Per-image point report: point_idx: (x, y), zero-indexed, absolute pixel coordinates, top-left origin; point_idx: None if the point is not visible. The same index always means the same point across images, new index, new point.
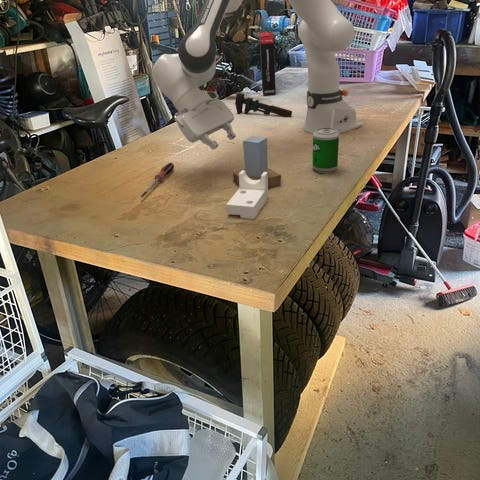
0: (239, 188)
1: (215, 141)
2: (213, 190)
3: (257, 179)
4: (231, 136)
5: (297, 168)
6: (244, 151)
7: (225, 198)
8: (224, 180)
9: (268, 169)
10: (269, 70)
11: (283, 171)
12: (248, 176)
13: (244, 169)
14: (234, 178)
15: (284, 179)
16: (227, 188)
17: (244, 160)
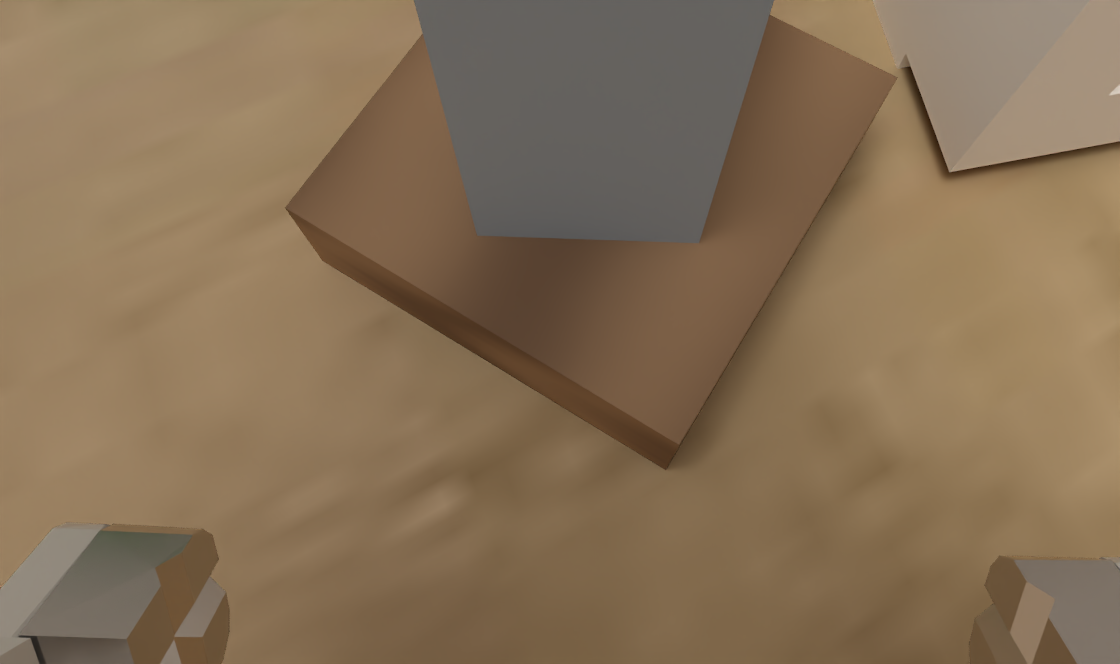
0: (1118, 91)
1: (1081, 636)
2: None
3: (762, 49)
4: (191, 594)
5: (57, 9)
6: (762, 24)
7: (1107, 314)
8: (664, 610)
9: (419, 73)
10: None
11: (176, 98)
12: (721, 183)
13: (521, 343)
14: (691, 425)
15: (391, 5)
16: (865, 436)
17: (731, 133)
